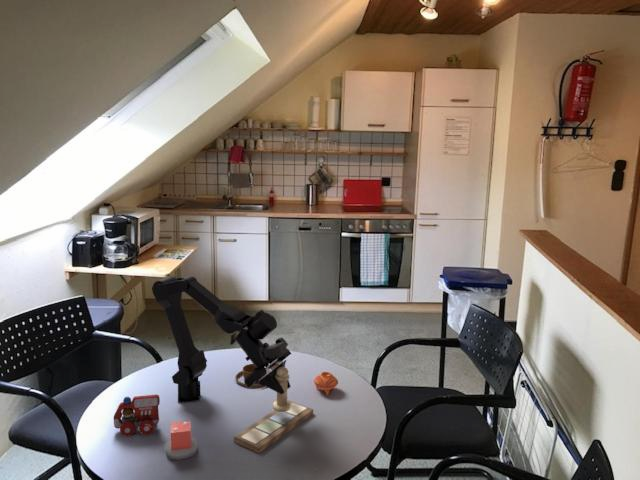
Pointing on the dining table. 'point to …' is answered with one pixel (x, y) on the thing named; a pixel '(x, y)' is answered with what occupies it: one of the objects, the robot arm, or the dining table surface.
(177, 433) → the orange cube on disc
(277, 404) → the pawn
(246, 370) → the place setting
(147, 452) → the dining table surface
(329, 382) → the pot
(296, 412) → the game board
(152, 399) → the toy fire truck
